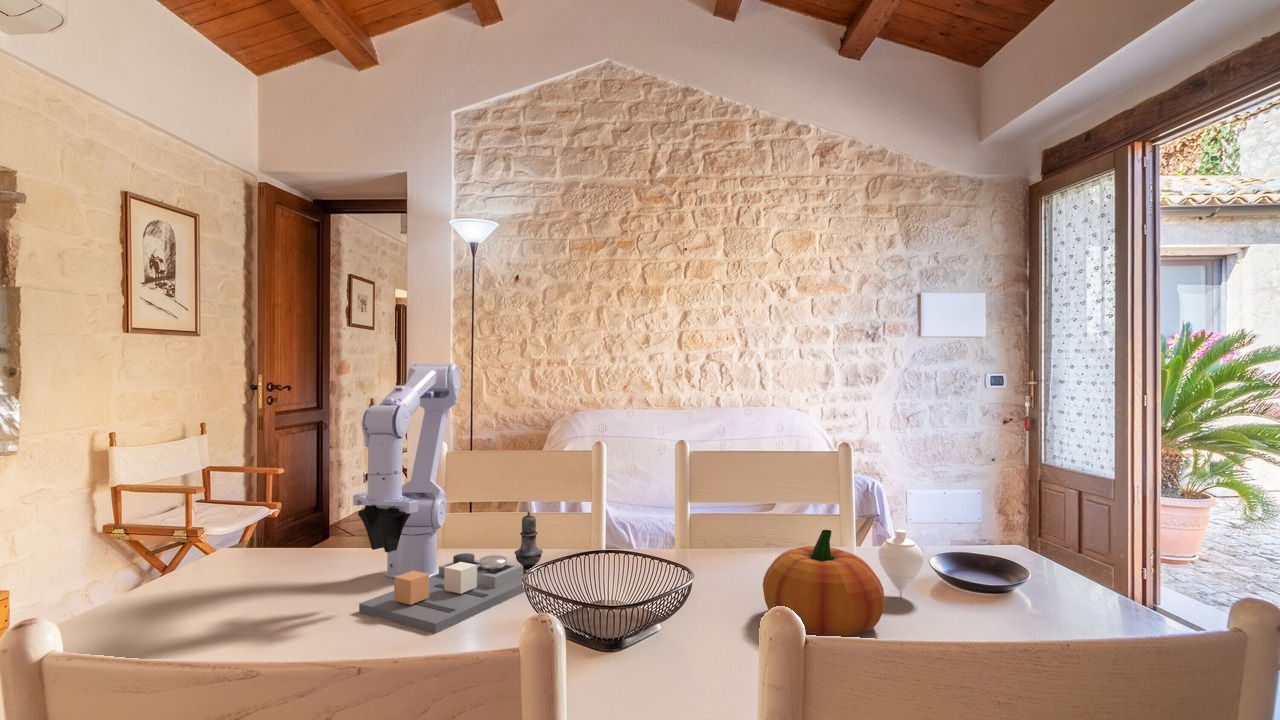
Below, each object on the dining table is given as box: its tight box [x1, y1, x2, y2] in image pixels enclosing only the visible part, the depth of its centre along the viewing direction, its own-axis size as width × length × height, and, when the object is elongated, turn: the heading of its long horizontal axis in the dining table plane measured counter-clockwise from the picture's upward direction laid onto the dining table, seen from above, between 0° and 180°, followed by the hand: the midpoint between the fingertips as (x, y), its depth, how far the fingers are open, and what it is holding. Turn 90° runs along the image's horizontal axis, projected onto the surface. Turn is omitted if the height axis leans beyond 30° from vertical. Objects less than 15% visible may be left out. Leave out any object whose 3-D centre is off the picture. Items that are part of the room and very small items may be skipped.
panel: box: [358, 559, 525, 634], centre depth 114 cm, size 18×26×4 cm
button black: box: [452, 552, 475, 564], centre depth 124 cm, size 4×4×1 cm
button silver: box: [479, 554, 508, 571], centre depth 121 cm, size 5×5×2 cm
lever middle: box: [444, 562, 477, 594], centre depth 114 cm, size 4×4×4 cm
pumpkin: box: [762, 529, 885, 637], centre depth 104 cm, size 19×19×15 cm
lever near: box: [393, 571, 429, 605], centre depth 108 cm, size 4×4×4 cm
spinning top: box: [878, 529, 924, 597], centre depth 116 cm, size 8×8×12 cm
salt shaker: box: [513, 511, 544, 574], centre depth 132 cm, size 6×6×12 cm
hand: (384, 549), depth 112 cm, fingers open, 3 cm apart
